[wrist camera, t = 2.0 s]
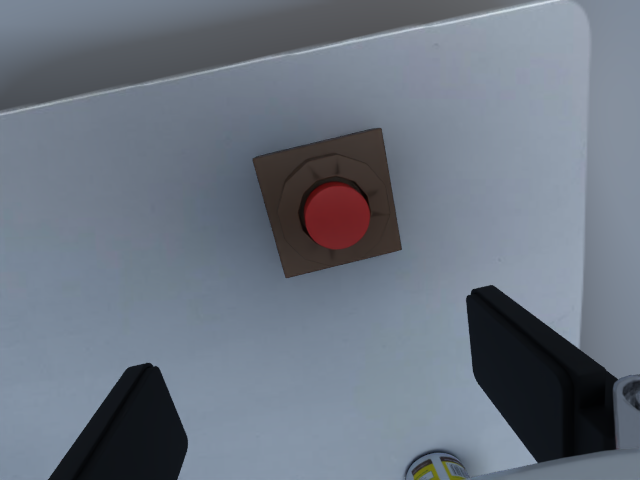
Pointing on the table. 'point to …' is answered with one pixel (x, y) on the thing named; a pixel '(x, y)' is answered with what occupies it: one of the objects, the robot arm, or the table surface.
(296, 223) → the button block
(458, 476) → the supplement bottle
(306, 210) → the red button
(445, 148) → the table surface
